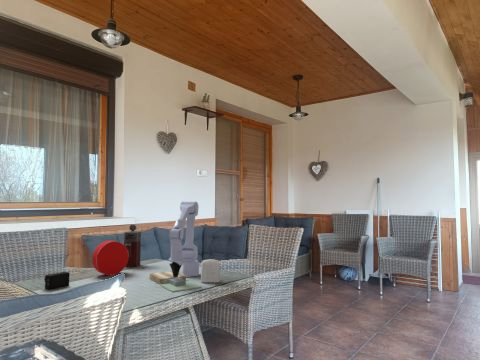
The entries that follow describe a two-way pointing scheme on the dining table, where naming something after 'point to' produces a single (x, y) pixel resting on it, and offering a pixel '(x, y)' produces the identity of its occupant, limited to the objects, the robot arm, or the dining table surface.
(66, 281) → the digital camera
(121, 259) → the red thick disc
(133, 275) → the dining table surface
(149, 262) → the dining table surface
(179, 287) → the mat
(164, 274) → the deck
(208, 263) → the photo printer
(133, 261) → the glass decanter
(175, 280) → the slate tile
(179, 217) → the robot arm
